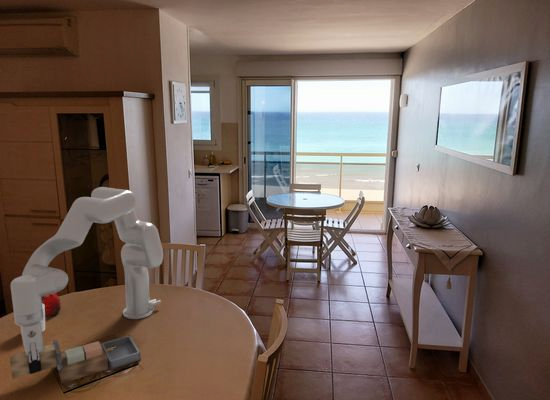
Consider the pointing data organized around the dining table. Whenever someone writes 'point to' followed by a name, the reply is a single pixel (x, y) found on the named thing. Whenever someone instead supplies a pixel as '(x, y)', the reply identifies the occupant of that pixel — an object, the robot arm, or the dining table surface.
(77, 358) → the tile sage
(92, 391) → the dining table surface
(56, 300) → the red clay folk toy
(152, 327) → the dining table surface
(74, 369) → the wooden block
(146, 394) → the dining table surface
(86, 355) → the tile terracotta
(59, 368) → the scraper
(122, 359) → the tray
